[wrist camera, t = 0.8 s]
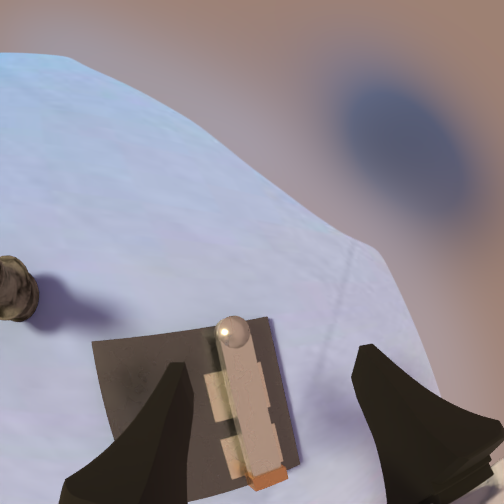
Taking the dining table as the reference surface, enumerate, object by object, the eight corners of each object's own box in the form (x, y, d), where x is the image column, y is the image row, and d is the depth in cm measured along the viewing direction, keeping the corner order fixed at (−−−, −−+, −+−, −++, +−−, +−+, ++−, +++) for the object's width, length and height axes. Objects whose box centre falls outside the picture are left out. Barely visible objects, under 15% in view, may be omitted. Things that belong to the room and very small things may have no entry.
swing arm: (278, 472, 23) (288, 478, 21) (247, 484, 21) (255, 491, 20) (242, 315, 28) (250, 312, 26) (207, 321, 26) (213, 318, 25)
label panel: (295, 461, 26) (304, 466, 24) (140, 505, 18) (142, 513, 16) (263, 317, 31) (271, 315, 29) (92, 341, 23) (90, 341, 21)
